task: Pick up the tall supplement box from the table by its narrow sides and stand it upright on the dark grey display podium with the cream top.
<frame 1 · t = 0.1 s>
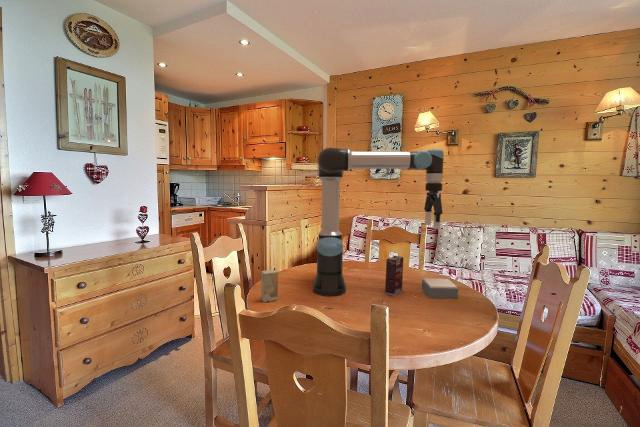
hand: (432, 226, 156), 28 cm above the table, tool pointing down, fingers open, 13 cm apart
supplement box: (393, 292, 145), on the table
display podium: (439, 293, 145), on the table
skincare box: (269, 300, 136), on the table
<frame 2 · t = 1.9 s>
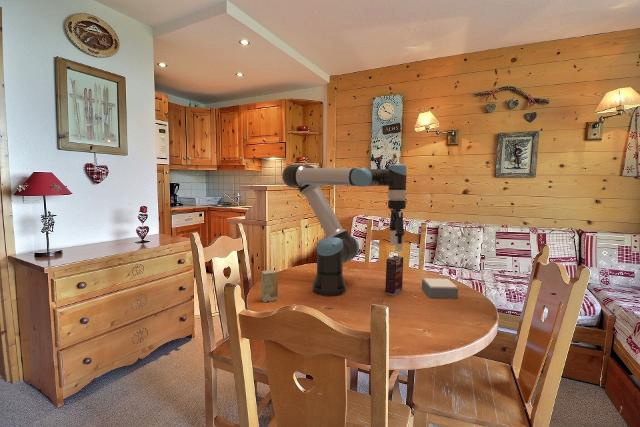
hand: (395, 247, 143), 20 cm above the table, tool pointing down, fingers open, 13 cm apart
nothing on the table moved.
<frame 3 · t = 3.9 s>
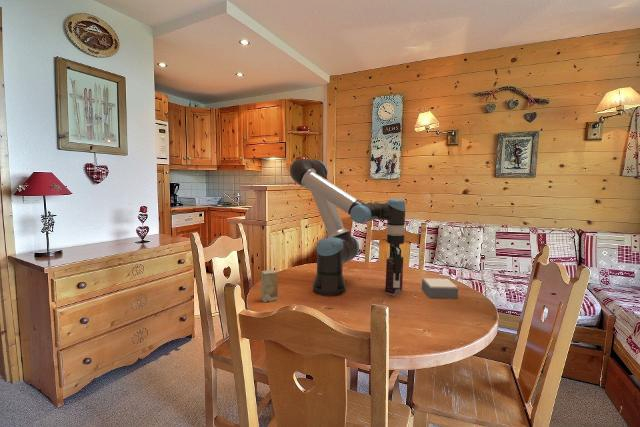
hand: (394, 283, 145), 4 cm above the table, tool pointing down, fingers closed on supplement box, 9 cm apart
supplement box: (393, 292, 145), on the table, touching gripper
everything else where it was.
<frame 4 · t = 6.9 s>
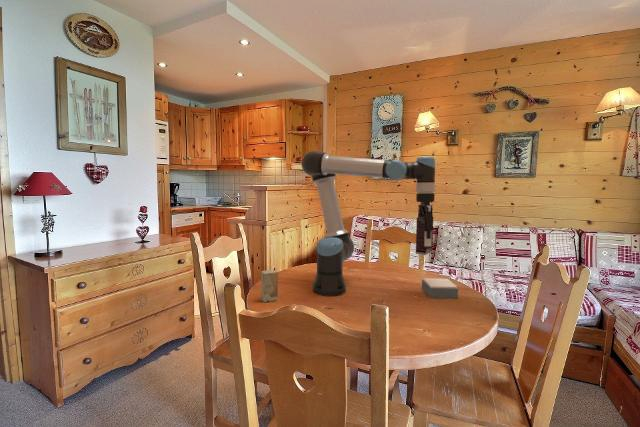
hand: (424, 243, 142), 22 cm above the table, tool pointing down, fingers closed on supplement box, 9 cm apart
supplement box: (424, 253, 143), point 18 cm above the table, touching gripper
everything else where it was.
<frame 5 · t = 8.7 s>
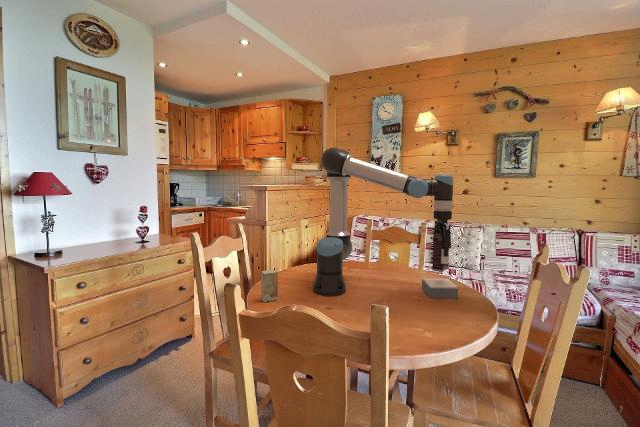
hand: (440, 260, 143), 15 cm above the table, tool pointing down, fingers closed on supplement box, 9 cm apart
supplement box: (440, 269, 144), point 11 cm above the table, touching gripper
everything else where it was.
when the fingers open (10 cm above the table, at t = 10.0 s): supplement box drops 1 cm, resting on display podium.
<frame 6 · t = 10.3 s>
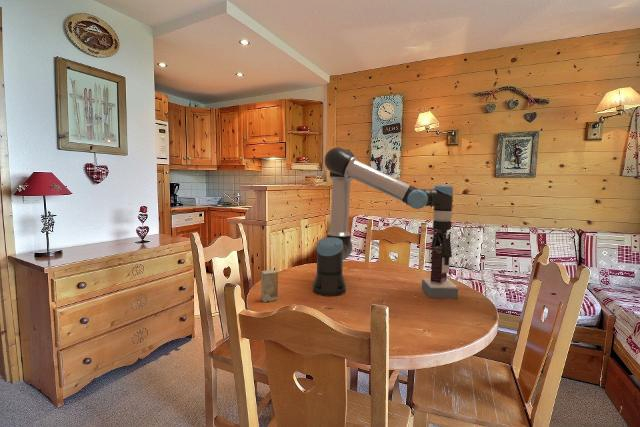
hand: (440, 268, 143), 12 cm above the table, tool pointing down, fingers open, 12 cm apart
supplement box: (438, 282, 145), point 5 cm above the table, touching display podium
everything else where it was.
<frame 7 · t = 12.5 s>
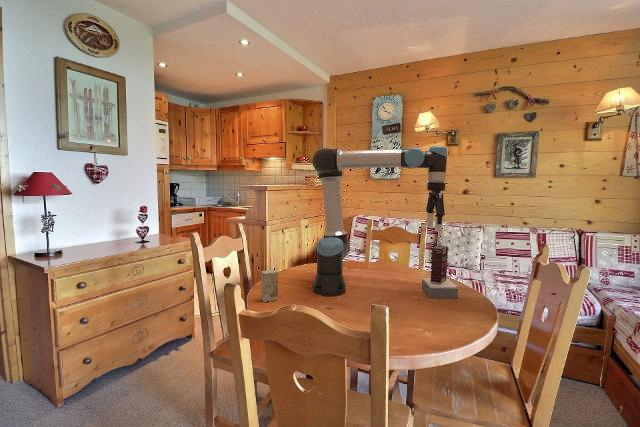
hand: (433, 229, 146), 28 cm above the table, tool pointing down, fingers open, 13 cm apart
nothing on the table moved.
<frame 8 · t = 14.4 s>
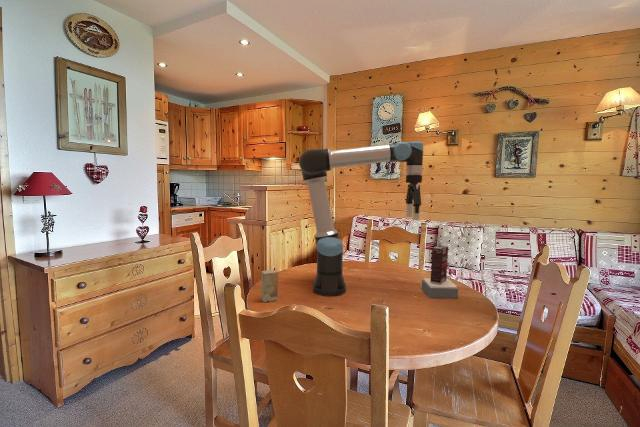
hand: (412, 218, 158), 32 cm above the table, tool pointing down, fingers open, 13 cm apart
nothing on the table moved.
at the end: supplement box inside the target area on the display podium (0.9 cm from its centre), point 4.8 cm above the display podium's base; supplement box tilted 0°; the gripper is holding nothing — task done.
